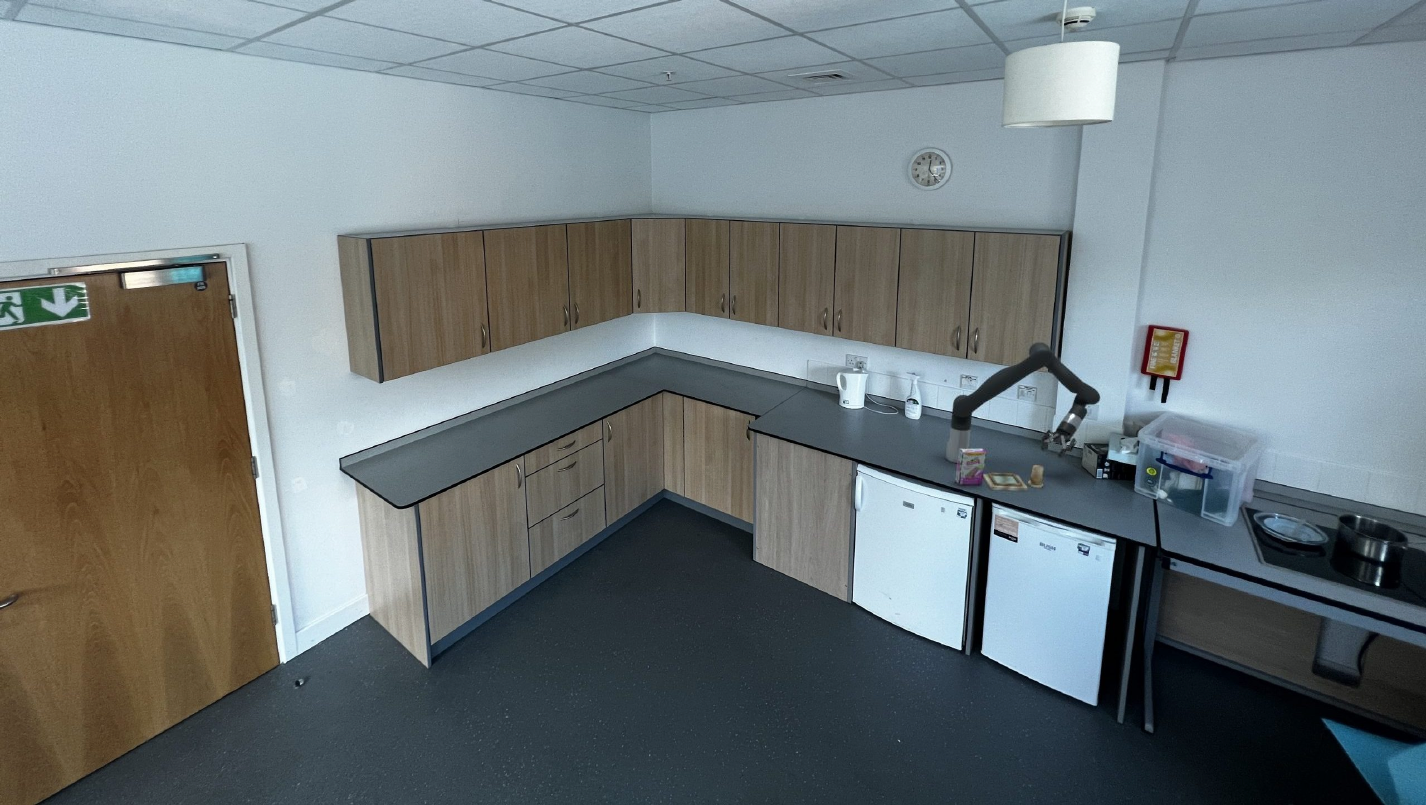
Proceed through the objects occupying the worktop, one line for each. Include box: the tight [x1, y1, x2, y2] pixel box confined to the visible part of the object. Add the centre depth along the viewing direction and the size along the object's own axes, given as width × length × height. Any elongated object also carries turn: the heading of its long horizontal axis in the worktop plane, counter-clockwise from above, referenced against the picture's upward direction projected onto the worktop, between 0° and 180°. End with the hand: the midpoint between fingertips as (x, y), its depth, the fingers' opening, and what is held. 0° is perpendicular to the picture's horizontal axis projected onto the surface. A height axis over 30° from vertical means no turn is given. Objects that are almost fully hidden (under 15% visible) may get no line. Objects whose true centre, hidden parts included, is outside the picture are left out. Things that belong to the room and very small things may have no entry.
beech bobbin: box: [1027, 464, 1044, 489], centre depth 326 cm, size 6×6×9 cm
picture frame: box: [983, 472, 1028, 492], centre depth 328 cm, size 16×14×3 cm
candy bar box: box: [954, 448, 987, 486], centre depth 327 cm, size 11×5×16 cm, turn 92°
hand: (1050, 453), depth 327 cm, fingers open, 8 cm apart
